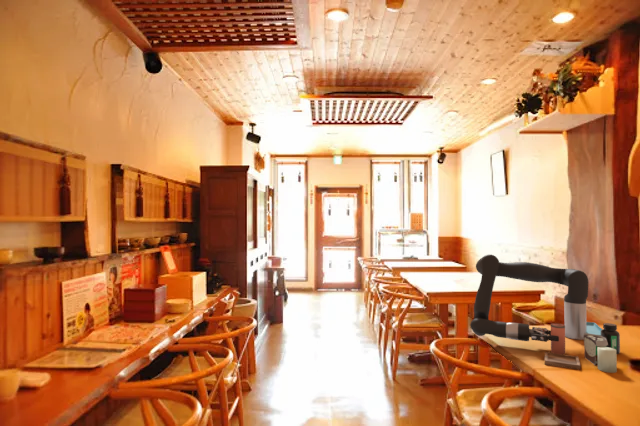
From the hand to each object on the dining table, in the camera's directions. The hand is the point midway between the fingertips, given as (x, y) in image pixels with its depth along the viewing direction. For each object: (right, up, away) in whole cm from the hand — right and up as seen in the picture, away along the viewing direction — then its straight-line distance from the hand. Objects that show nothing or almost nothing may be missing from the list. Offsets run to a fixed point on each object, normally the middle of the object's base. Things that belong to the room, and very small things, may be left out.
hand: (558, 336), depth 178 cm
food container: (+9, -7, -12) cm, 17 cm away
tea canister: (0, -7, 0) cm, 7 cm away
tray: (-6, -7, -13) cm, 16 cm away
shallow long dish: (+37, -8, +34) cm, 51 cm away
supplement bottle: (+23, -7, +1) cm, 24 cm away
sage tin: (+6, -7, -21) cm, 23 cm away
